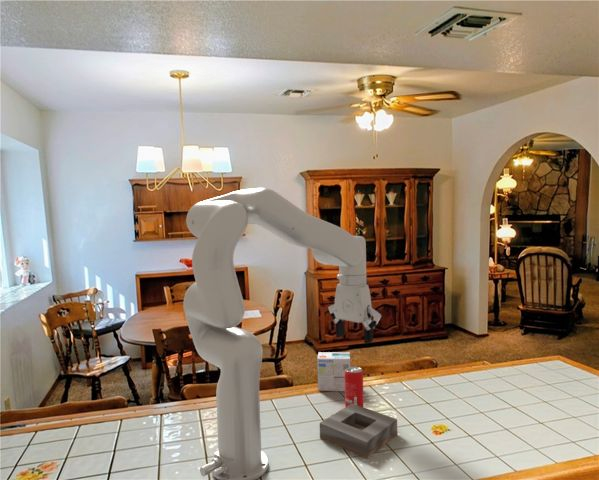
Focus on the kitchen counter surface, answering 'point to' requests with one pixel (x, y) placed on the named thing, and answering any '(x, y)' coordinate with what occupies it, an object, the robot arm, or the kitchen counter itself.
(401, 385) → the kitchen counter surface
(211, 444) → the kitchen counter surface
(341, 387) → the light bulb box
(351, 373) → the beverage can
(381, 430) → the socket block
